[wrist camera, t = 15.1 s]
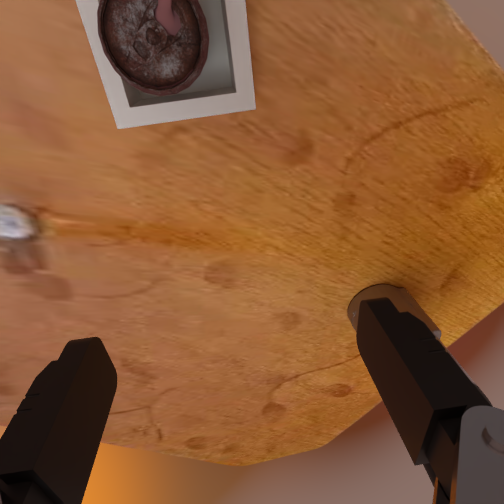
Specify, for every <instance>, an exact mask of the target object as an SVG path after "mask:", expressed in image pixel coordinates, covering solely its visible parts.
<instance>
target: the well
mask: <svg viewBox="0 0 504 504" xmlns="http://www.w3.org/2000/svg"><path fill="white" fill-rule="evenodd" d="M198 1H199V4H200V6H201V8H202V11H203V13H204V15H205V18H206V21H207V28H208V34H209V47H208V56H207V60H206V63H205V65H204V67H203V70H202V72H201V74H200V76H199V77H198V78H197V79H196V80H195V81H194V82H193V84H192V85H191V86H190V87H188V88H186V89H185V90H183V91H181V92H179V93H177V94H173V95H166V96H157V95H152V94H147V93H144V92H142V91H140V90H138V89H136V88H135V87H133V86H131V85H129V84H128V83H127V82H126V81H125V80H124V79H123V78H122V77H121V76H120V75H119V74H118V73H117V72H116V71H115V70H114V69H113V67H112V65H111V64H110V62H109V60H108V59H107V57H106V55H105V54H104V51H103V48H102V45H101V41H100V38H99V35H98V23H97V10H98V6H99V3H100V0H76V3H77V6H78V9H79V12H80V15H81V18H82V21H83V25H84V28H85V31H86V34H87V37H88V40H89V43H90V46H91V49H92V52H93V55H94V58H95V61H96V64H97V67H98V70H99V73H100V76H101V79H102V82H103V85H104V88H105V91H106V94H107V97H108V101H109V104H110V107H111V110H112V113H113V116H114V119H115V122H116V125H117V128H118V129H123V128H130V127H137V126H143V125H150V124H157V123H164V122H171V121H178V120H185V119H192V118H199V117H206V116H213V115H220V114H227V113H233V112H240V111H247V110H254V109H256V105H255V95H254V84H253V74H252V64H251V54H250V44H249V34H248V24H247V13H246V3H245V0H198Z"/></svg>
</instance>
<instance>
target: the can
mask: <svg viewBox="0 0 504 504" xmlns="http://www.w3.org/2000/svg"><path fill="white" fill-rule="evenodd" d="M97 23H98V35H99V38H100V41H101V45H102V48H103V51H104V54H105V55H106V57H107V59H108V60H109V62H110V64H111V65H112V67H113V69H114V70H115V71H116V72H117V73H118V74H119V75H120V76H121V77H122V78H123V79H124V80H125V81H126V82H127V83H128V84H129V85H131V86H133V87H135V88H136V89H138V90H140V91H142V92H144V93H147V94H152V95H157V96H166V95H173V94H177V93H179V92H181V91H183V90H185V89H186V88H188V87H190V86H191V85H192V84H193V82H194V81H195V80H196V79H197V78H198V77H199V76H200V74H201V72H202V70H203V67H204V65H205V63H206V60H207V56H208V47H209V34H208V28H207V21H206V18H205V15H204V13H203V11H202V8H201V6H200V4H199V1H198V0H100V3H99V6H98V10H97Z"/></svg>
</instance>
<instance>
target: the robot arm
mask: <svg viewBox="0 0 504 504" xmlns="http://www.w3.org/2000/svg"><path fill="white" fill-rule="evenodd" d="M348 317H349V320H350V321H351V323H352V326H353V328H354V329H355V331H356V333H357V335H356V337H357V345H358V349H359V352H360V355H361V357H362V359H363V361H364V363H365V365H366V367H367V369H368V371H369V373H370V375H371V377H372V379H373V381H374V383H375V385H376V387H377V389H378V392H379V394H380V396H381V398H382V400H383V402H384V404H385V406H386V408H387V409H388V412H389V414H390V416H391V418H392V420H393V422H394V424H395V426H396V428H397V430H398V432H399V434H400V436H401V438H402V440H403V442H404V444H405V446H406V448H407V450H408V452H409V454H410V457H411V458H412V461H413V463H414V465H420V464H423V465H424V467H425V469H426V471H427V473H428V475H429V477H430V480H431V482H432V484H433V486H434V495H433V503H432V504H504V411H503V410H501V409H498V408H495V407H493V406H492V405H491V403H490V401H489V400H488V398H487V397H486V396H485V394H484V393H483V392H482V391H481V390H480V389H479V387H478V386H477V385H476V384H475V383H474V382H473V380H472V379H471V378H470V376H469V375H468V374H467V373H466V371H465V370H464V369H463V368H462V367H461V365H460V364H459V363H458V362H457V361H456V359H455V358H454V357H453V356H452V354H451V353H450V352H449V351H448V350H447V348H446V347H445V346H444V345H443V343H442V342H441V341H440V337H441V331H440V329H439V328H438V327H437V326H436V324H435V323H434V322H433V321H432V320H431V319H430V317H429V316H428V315H427V314H426V313H425V311H424V310H423V309H422V308H421V307H420V306H419V304H418V303H417V302H416V301H415V300H414V298H413V297H412V296H411V295H410V294H409V293H408V291H407V290H406V289H405V288H396V287H394V286H392V285H385V284H381V285H375V286H372V287H369V288H367V289H365V290H363V291H362V292H360V293H359V294H358V295H357V296H356V297H355V298H354V299H353V300H352V301H351V303H350V305H349V307H348ZM116 388H117V373H116V369H115V367H114V365H113V363H112V361H111V359H110V357H109V355H108V353H107V351H106V349H105V347H104V345H103V343H102V341H101V339H100V338H98V337H91V338H84V339H77V340H71V341H69V342H68V343H67V344H66V346H65V348H64V349H63V351H62V353H61V355H60V357H59V359H58V360H57V361H51V362H50V363H49V364H48V365H47V366H46V367H45V369H44V370H43V371H42V372H41V373H40V374H39V375H38V376H37V377H36V378H35V380H34V381H33V383H32V385H31V387H30V388H29V390H28V392H27V393H26V395H25V396H26V398H25V399H23V400H22V402H21V404H20V406H19V407H18V409H17V414H15V415H14V416H13V418H12V420H11V421H10V423H9V425H8V427H7V428H6V430H5V432H4V434H3V435H2V437H1V439H0V504H81V503H82V500H83V496H84V493H85V490H86V487H87V483H88V480H89V477H90V474H91V470H92V467H93V464H94V460H95V457H96V454H97V451H98V447H99V444H100V441H101V438H102V434H103V431H104V428H105V425H106V421H107V418H108V415H109V412H110V408H111V405H112V402H113V399H114V395H115V392H116Z"/></svg>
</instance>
